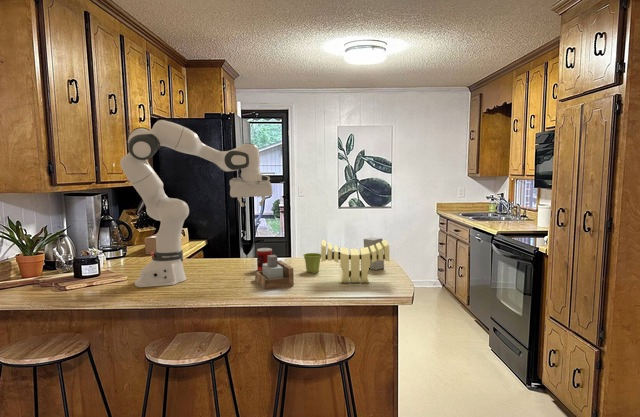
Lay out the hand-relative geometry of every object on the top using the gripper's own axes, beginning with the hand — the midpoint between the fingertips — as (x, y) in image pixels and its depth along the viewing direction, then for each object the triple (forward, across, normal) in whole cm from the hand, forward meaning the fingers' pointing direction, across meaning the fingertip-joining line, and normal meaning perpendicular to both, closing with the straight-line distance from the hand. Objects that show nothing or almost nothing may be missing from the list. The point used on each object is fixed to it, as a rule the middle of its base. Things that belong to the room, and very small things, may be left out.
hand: (251, 206), depth 197 cm
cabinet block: (+34, +4, -18) cm, 39 cm away
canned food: (+34, +8, +8) cm, 36 cm away
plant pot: (+34, +29, -6) cm, 45 cm away
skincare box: (+34, +60, -14) cm, 70 cm away
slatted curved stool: (+34, +40, -30) cm, 61 cm away
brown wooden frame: (+34, +5, -18) cm, 39 cm away
